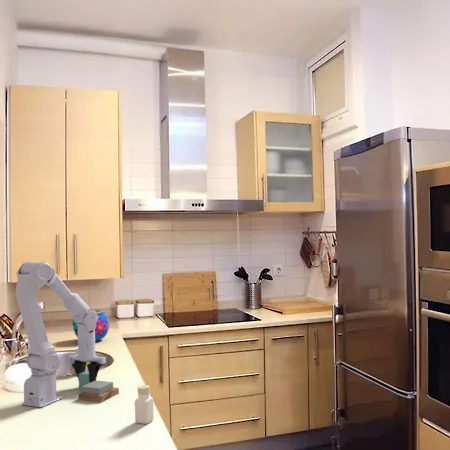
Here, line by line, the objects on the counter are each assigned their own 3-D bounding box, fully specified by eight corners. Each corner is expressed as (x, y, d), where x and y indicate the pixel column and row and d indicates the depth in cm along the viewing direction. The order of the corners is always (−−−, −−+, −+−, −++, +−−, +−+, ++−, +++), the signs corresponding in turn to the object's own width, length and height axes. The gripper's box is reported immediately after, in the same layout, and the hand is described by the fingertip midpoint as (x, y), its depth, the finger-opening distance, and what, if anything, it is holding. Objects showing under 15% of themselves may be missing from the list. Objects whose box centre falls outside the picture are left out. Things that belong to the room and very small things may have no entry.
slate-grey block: (99, 394, 152) (99, 388, 152) (81, 392, 155) (81, 386, 155) (113, 388, 159) (113, 382, 159) (95, 386, 161) (95, 380, 161)
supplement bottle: (83, 370, 189) (82, 345, 189) (91, 372, 186) (91, 347, 186) (71, 374, 185) (70, 348, 185) (79, 376, 181) (78, 349, 182)
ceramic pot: (72, 339, 251) (72, 310, 251) (107, 336, 257) (107, 307, 257) (74, 346, 234) (73, 315, 235) (111, 342, 240) (111, 312, 241)
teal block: (88, 389, 164) (88, 374, 164) (78, 388, 166) (78, 373, 166) (95, 386, 168) (95, 371, 168) (86, 385, 169) (86, 370, 170)
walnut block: (101, 404, 151) (101, 396, 151) (78, 401, 154) (78, 393, 154) (118, 395, 159) (118, 387, 159) (96, 393, 162) (96, 385, 162)
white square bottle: (134, 423, 132) (133, 388, 133) (142, 418, 136) (141, 384, 136) (147, 425, 131) (146, 389, 131) (154, 419, 135) (153, 385, 135)
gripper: (111, 342, 168) (112, 381, 168) (77, 339, 174) (78, 378, 173) (98, 346, 162) (99, 387, 161) (63, 344, 167) (64, 383, 167)
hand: (87, 383), depth 167 cm, fingers closed on teal block, 4 cm apart
